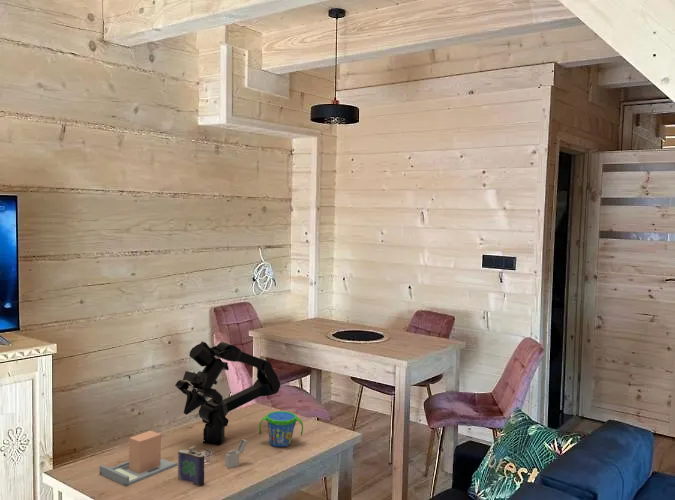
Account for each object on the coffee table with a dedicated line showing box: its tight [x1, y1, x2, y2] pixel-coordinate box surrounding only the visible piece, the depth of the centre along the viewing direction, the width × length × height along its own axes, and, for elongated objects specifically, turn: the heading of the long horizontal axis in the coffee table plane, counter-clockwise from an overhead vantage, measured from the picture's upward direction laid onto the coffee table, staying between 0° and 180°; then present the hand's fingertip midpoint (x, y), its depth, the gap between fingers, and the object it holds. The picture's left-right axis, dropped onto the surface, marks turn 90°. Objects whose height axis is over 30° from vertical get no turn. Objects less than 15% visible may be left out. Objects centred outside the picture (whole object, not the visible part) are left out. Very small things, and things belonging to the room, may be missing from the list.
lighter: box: [225, 438, 249, 470], centre depth 194 cm, size 7×2×8 cm, turn 129°
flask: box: [177, 445, 205, 487], centre depth 181 cm, size 9×3×11 cm, turn 65°
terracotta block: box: [128, 430, 162, 474], centre depth 189 cm, size 8×5×10 cm, turn 145°
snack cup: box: [258, 410, 304, 448], centre depth 213 cm, size 16×10×10 cm
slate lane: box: [99, 458, 178, 487], centre depth 187 cm, size 19×13×3 cm
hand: (185, 413), depth 201 cm, fingers closed
